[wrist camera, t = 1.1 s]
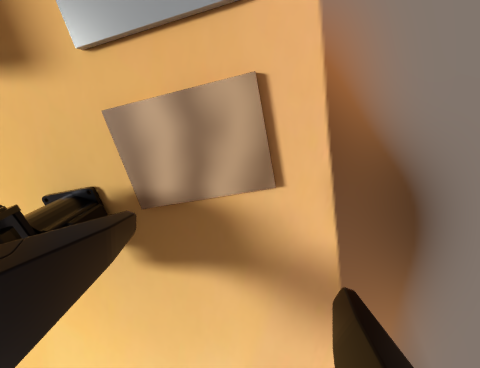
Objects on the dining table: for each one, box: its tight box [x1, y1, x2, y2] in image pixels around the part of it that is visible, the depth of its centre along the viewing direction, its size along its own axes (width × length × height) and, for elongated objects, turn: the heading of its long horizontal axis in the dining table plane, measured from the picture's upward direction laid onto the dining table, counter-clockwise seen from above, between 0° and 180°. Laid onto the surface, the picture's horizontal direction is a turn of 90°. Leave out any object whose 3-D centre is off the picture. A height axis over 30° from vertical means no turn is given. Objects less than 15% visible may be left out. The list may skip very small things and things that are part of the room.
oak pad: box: [102, 71, 276, 209], centre depth 21 cm, size 14×10×1 cm
